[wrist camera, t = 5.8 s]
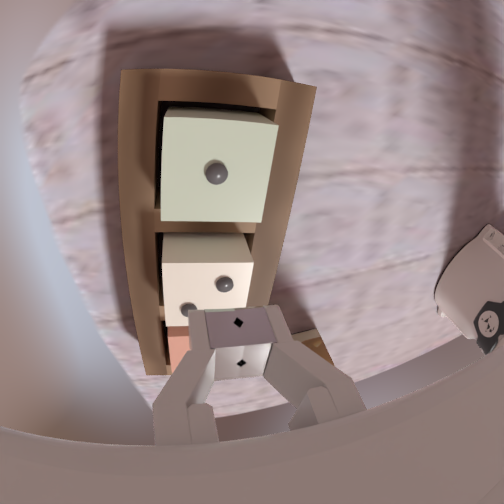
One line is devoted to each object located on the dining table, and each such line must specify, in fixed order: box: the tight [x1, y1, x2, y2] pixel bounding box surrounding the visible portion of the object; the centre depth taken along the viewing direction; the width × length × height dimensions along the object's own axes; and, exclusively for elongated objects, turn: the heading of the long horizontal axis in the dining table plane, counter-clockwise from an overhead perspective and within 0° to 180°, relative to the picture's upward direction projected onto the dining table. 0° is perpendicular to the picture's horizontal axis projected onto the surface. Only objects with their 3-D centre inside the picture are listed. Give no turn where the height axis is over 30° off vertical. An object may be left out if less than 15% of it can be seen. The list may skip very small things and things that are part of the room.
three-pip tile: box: [168, 326, 190, 373], centre depth 28 cm, size 6×6×5 cm
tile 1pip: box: [161, 106, 279, 223], centre depth 17 cm, size 6×6×5 cm
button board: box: [118, 69, 317, 375], centre depth 24 cm, size 12×29×4 cm, turn 171°
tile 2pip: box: [162, 232, 254, 326], centre depth 22 cm, size 6×6×5 cm
